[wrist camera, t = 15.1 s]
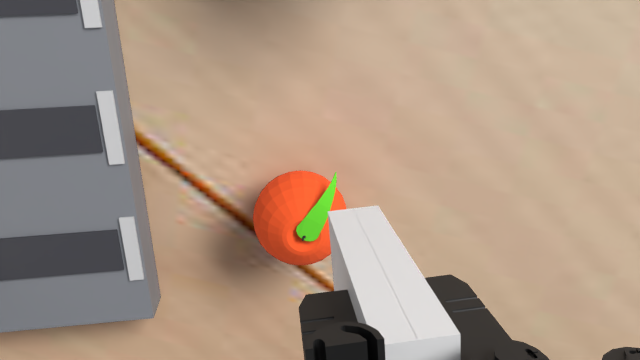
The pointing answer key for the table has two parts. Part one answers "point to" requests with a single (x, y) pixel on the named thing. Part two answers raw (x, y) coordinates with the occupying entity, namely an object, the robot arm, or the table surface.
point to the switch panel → (69, 172)
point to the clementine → (297, 216)
